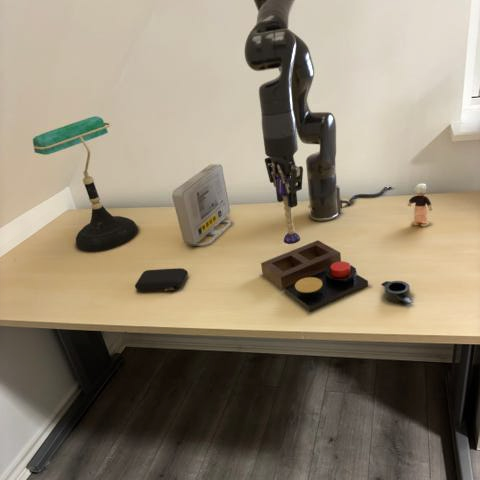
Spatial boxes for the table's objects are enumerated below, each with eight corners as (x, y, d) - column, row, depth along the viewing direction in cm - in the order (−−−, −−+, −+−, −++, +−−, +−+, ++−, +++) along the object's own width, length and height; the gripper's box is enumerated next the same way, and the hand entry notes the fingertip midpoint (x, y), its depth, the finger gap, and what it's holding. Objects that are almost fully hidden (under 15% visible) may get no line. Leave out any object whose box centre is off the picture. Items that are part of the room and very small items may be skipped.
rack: (262, 275, 142) (260, 263, 140) (318, 252, 148) (317, 240, 146) (282, 290, 134) (280, 277, 132) (341, 265, 140) (340, 252, 138)
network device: (217, 216, 183) (206, 162, 172) (238, 217, 179) (228, 162, 168) (180, 249, 165) (165, 191, 154) (202, 251, 161) (188, 192, 150)
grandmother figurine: (434, 222, 152) (436, 182, 145) (430, 227, 149) (432, 187, 142) (408, 220, 156) (409, 180, 149) (404, 225, 153) (405, 185, 146)
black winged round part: (412, 286, 126) (413, 276, 124) (414, 308, 118) (414, 298, 116) (380, 286, 128) (380, 276, 126) (380, 308, 120) (380, 298, 119)
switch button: (342, 266, 133) (342, 259, 132) (354, 273, 129) (354, 266, 128) (327, 272, 132) (326, 266, 131) (338, 279, 128) (338, 273, 127)
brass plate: (312, 275, 131) (312, 274, 131) (328, 285, 126) (328, 284, 126) (289, 284, 129) (289, 284, 129) (304, 295, 124) (304, 294, 124)
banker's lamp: (120, 217, 198) (86, 112, 176) (154, 228, 183) (122, 115, 161) (61, 245, 184) (16, 135, 162) (93, 260, 170) (48, 140, 147)
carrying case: (133, 296, 145) (180, 293, 141) (130, 287, 143) (178, 284, 140) (145, 277, 153) (190, 274, 150) (142, 268, 152) (188, 265, 148)
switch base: (339, 269, 138) (339, 258, 136) (368, 286, 129) (367, 274, 127) (284, 293, 133) (283, 281, 131) (310, 312, 124) (308, 300, 122)
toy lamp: (279, 243, 127) (271, 179, 117) (286, 235, 130) (279, 172, 120) (296, 244, 124) (289, 180, 115) (303, 236, 128) (297, 172, 118)
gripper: (311, 132, 108) (316, 207, 117) (277, 123, 119) (285, 191, 128) (281, 141, 105) (289, 216, 115) (250, 131, 117) (260, 200, 126)
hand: (287, 203), depth 122 cm, fingers closed on toy lamp, 4 cm apart
